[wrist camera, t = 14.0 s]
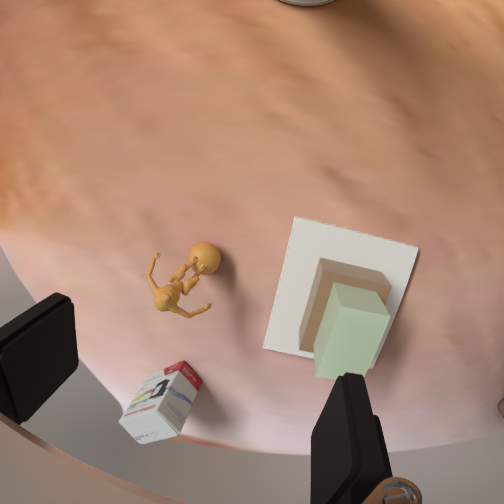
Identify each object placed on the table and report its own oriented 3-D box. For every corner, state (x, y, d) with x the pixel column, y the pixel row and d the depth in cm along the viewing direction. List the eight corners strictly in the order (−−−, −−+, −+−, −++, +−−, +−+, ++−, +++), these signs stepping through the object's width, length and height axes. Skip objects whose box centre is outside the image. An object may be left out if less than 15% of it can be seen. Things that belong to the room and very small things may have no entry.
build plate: (294, 215, 38) (294, 224, 32) (415, 245, 37) (433, 260, 31) (263, 343, 43) (258, 369, 38) (371, 364, 42) (379, 390, 36)
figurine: (242, 266, 41) (221, 306, 29) (211, 296, 43) (182, 342, 31) (195, 220, 40) (156, 243, 29) (166, 252, 42) (122, 284, 30)
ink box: (185, 358, 46) (157, 409, 35) (204, 382, 47) (181, 434, 36) (147, 376, 48) (115, 422, 37) (165, 397, 49) (138, 445, 38)
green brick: (333, 282, 33) (340, 306, 28) (376, 291, 33) (390, 316, 27) (313, 345, 36) (315, 376, 30) (353, 352, 35) (361, 383, 30)
